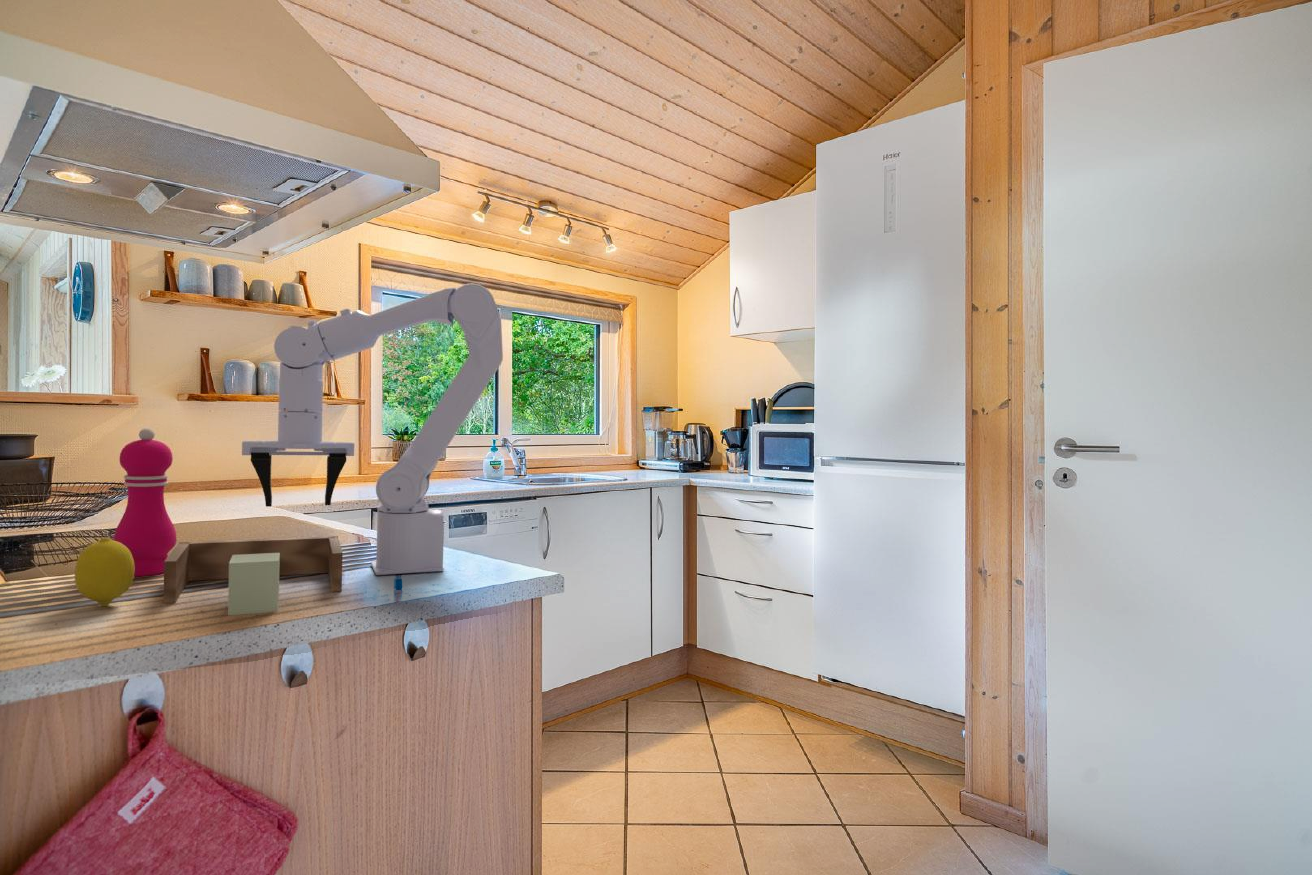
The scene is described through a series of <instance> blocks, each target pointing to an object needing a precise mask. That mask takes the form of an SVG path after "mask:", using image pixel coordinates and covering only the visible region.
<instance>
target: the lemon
mask: <svg viewBox="0 0 1312 875" xmlns="http://www.w3.org/2000/svg"><path fill="white" fill-rule="evenodd" d="M134 573H135V565H134V560H133V557H132V554H131V552H130V550H129V549H128V548H127V547H126V546H125V545H123V544H122V543H120V542H117V541H113V539H111V538H110V537H108V536H107V537H101V538H100V539H99V540H98V541H95V542H93V543H91V544H89V545H88V546H86V547H85V548H84V549H83V550H82V551H81V553H80V554H79V555H78V558H77V560H76V564H75V569H74V582H75V586H76V588H77V590H78V592H79V593H80V594H81V595H82V596H83V597H85V598H86V599H88V600H90V601H93V602H94V601H95V602H96V603H98V604H99V605H100V606H103V607H105V606H108V605H109V604H111V603H112V602H113V601H114V600H115V599H117V598H119V597H121V596H123V595H124V594H126V592H127V591H128V590H129V588H130V587H131V585H132V583H133V581H134V578H135V577H134Z"/></svg>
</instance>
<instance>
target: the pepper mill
mask: <svg viewBox="0 0 1312 875" xmlns="http://www.w3.org/2000/svg"><path fill="white" fill-rule="evenodd" d="M155 435H156V434H155V432H154V430H153V429H151V428H147V427H146V428H141V430H140V431H139V432H138V438H139V439H138V440H134V441H131V442H129V443H127V444H126V445H125V446H124V447H123V448H122V449H121V452H120V453H119V464H120V466H121V467H122V468H123V470H124V471H125V472H126V474H125V475H124V476H123V479H124V482H123V485H124V486H126V487H127V503H126V508H125V509H124V513H123V515H122V517H121V519H120V521H119V522H118V525H117V526H116V529H115V531H114V533H113V538H112V540H113V541H117V542H120V543H122V544H123V545H125V546H126V547H127V548H128V549H129V550H130V552H131V554H132V557H133V560H134V565H135V573H134V578H135V577H147V576H148V577H149V576H157V575H163V574H164V561H165V560H166V559H167V557H168V556H169V552H170V551H171V550H172V549H173V548H174V547H176V544H177V540H178V539H177V532H176V528H175V526H174V523H173V522H172V520H171V517H170V516H169V514H168V512H167V511H168V510H167V509H166V505H165V497H164V496H165V495H164V494H165V486H167V485H168V484H169V481H168V478H169V475H168V474H165V473H166V472H167V470H168V469H169V468H171V466H172V465H173V459H174V458H173V457H174V456H173V452H172V451H171V450H172V449H171V448H170V447H169V446H168V445H167V444H165V442H162V441H159V440H155V439H154V438H155Z"/></svg>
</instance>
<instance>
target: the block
mask: <svg viewBox="0 0 1312 875" xmlns="http://www.w3.org/2000/svg"><path fill="white" fill-rule="evenodd" d="M279 566H280V553H262V554H241V555H232V558H231V560H230V562H229V578H228V596H227V597H228V604H227V606H228V607H227V611H228V612H227V616H237V615H249V614H250V615H251V614H264V613H273V612H279V611H278V610H279V602H280V575H279Z"/></svg>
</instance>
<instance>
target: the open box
mask: <svg viewBox="0 0 1312 875" xmlns="http://www.w3.org/2000/svg"><path fill="white" fill-rule="evenodd" d="M341 546H342V545H341V543H340V539H339V536H337V535H336V536H335V535H334V536H316V537H315V536H314V537H312V536H307V537H287V538H285V537H284V538H282V537H281V538H260V539H257V538H256V539H236V540H235V539H234V540H232V539H231V540H212V541H211V540H210V541H205V540H204V541H185V542H179V543H178V544H177V545H176V546H175V548H174V549H173V550H172V552H171V553H170V554H168V557H167V559H166V560H165V561H164V573H163V604H174V603H176V602H177V601H178V599H179V597H180V596H181V595H182V593H183V590H184V589H185V588H186V586H187V584H188V583H189V582H191V581H205V580H208V581H209V580H220V579H222V580H223V579H224V580H225V579H229V562H230V560H231V558H232V555H241V554H262V553H280V566H279V576H291V575H294V576H295V575H307V574H309V575H311V574H325V573H327V574H328V577H329V578H328V580H329V585H330V589H331V592H332V593H333V592H342V590H343V589H342V588H343V555H344V554H343V550H342V547H341Z"/></svg>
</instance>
